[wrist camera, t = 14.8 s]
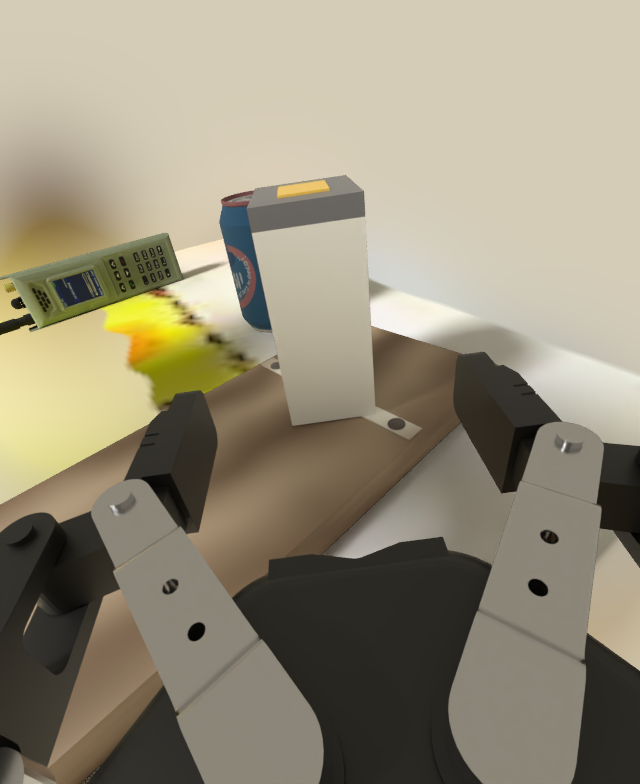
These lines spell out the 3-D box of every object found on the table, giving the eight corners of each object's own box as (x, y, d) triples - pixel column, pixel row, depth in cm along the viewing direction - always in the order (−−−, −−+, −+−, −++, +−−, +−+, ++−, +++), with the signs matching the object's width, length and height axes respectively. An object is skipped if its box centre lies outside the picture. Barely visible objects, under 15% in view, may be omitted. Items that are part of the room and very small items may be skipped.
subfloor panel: (-42, 564, 21) (-70, 539, 20) (346, 337, 36) (344, 316, 35) (6, 854, 12) (-40, 842, 11) (494, 389, 27) (498, 363, 26)
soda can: (235, 319, 43) (204, 199, 36) (292, 301, 45) (272, 184, 39) (261, 342, 38) (229, 206, 31) (322, 319, 40) (306, 189, 33)
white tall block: (292, 425, 24) (245, 206, 17) (291, 373, 28) (254, 186, 22) (375, 414, 23) (363, 188, 17) (359, 363, 28) (345, 173, 22)
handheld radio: (186, 281, 57) (-14, 349, 45) (177, 278, 60) (-15, 342, 48) (170, 233, 54) (-52, 293, 42) (161, 231, 56) (-51, 288, 44)
